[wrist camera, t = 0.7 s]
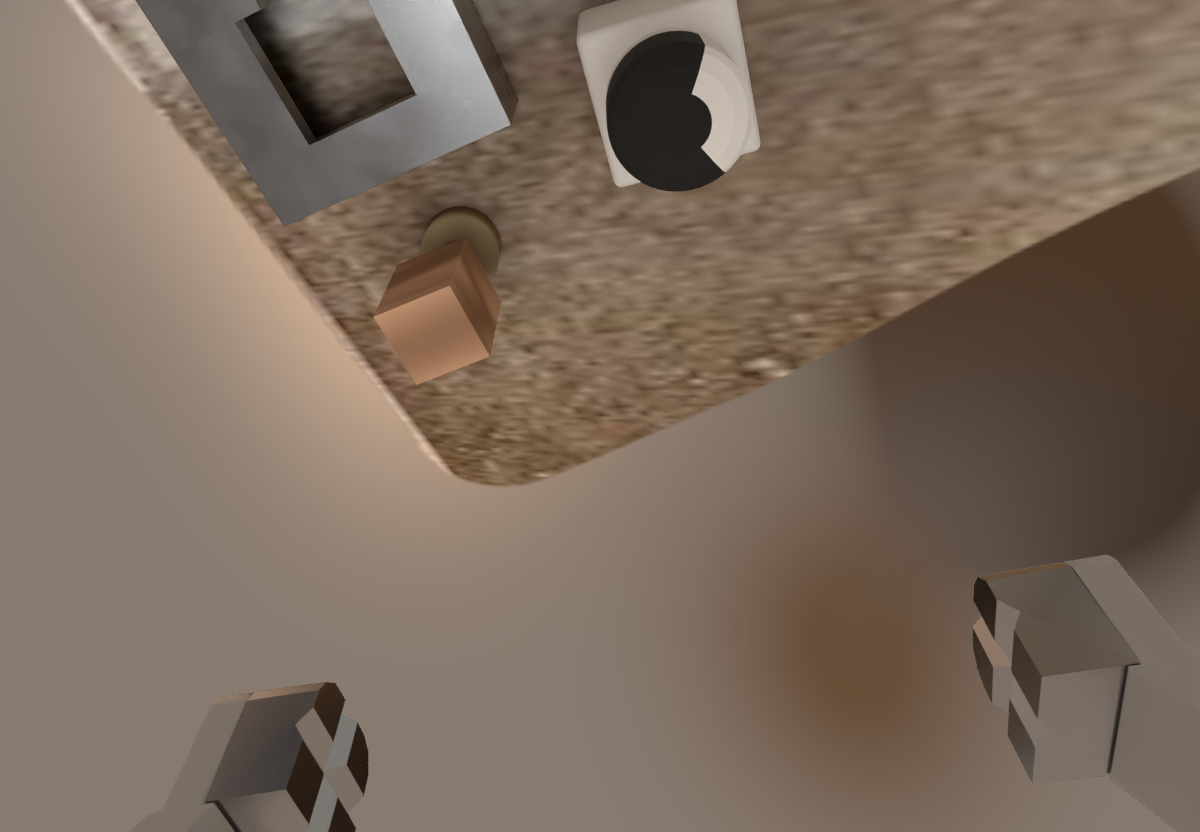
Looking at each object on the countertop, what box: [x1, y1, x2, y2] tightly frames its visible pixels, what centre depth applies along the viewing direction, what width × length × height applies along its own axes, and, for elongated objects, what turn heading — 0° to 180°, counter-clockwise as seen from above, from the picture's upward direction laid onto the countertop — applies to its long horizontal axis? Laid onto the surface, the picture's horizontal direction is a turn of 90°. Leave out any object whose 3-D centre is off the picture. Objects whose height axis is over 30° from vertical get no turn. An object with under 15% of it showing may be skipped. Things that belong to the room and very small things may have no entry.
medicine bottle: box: [577, 0, 760, 191], centre depth 40 cm, size 7×7×12 cm
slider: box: [374, 207, 501, 385], centre depth 46 cm, size 4×4×12 cm
